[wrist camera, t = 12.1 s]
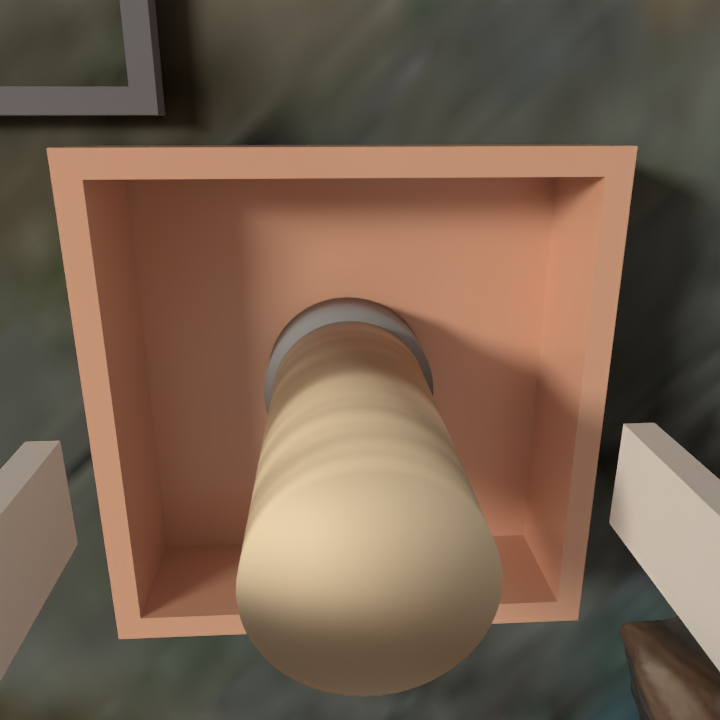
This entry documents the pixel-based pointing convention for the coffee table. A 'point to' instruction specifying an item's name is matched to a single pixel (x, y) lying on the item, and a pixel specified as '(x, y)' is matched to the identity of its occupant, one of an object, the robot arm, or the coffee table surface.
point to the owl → (670, 672)
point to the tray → (323, 282)
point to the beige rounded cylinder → (361, 513)
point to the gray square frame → (104, 101)
